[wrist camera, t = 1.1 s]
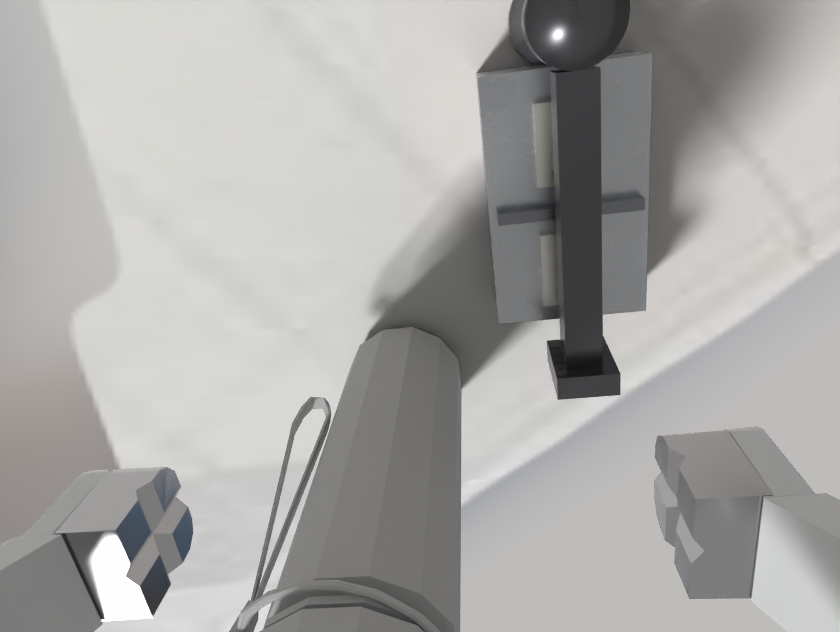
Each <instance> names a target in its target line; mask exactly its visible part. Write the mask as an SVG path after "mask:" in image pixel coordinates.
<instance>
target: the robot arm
mask: <svg viewBox="0 0 840 632" xmlns="http://www.w3.org/2000/svg"><path fill="white" fill-rule="evenodd" d="M655 448H656V449H655V458H656V460H657V463H658V465H659V467H660V469H661V473H660V474H659V475H658V477H657V478H656V479H655V480H654V486H655V487H654V488H655V489H654V497H655V505H656V512H657V517H658V521H659V524H660V528H661V531H662V533H663V536H664V538H665V541H667V542H669V543H670V544H671V545H672V546H674V547H675V562H674V563H675V565H676V568H677V570H678V573H679V575H680V577H681V580H682V582H683V584H684V587H685V589H686V592H687V594H688V596H689V599H711V598H712V599H715V598H716V599H717V598H752V599H751V601H752V602H753V603H754V604H755V605H757V606H758V607H759V608H760V609H761V610H762V611H764V612H765V613H766V614H767V615H768V616H770V617H771V618H772V619H773V620H774V621H776V622H777V623H778V624H779V625H780V626H782V627H783V628H784V629H785V630H786V631H787V632H840V500H839V499H837V498H835V497H832V496H831V495H828V494H826V493H825V494H815V493H814V492H813V491H812V489H811V488H810V487H809V485H808V484H807V483H806V482H805V480H804V479H803V478H802V477H801V475H800V474H799V473H798V472H797V471H796V469H795V468H794V467H793V466H792V464H791V463H790V462H789V461H788V459H787V458H786V457H785V456H784V454H783V453H782V452H781V451H780V449H779V448H778V447H777V446H776V444H775V443H774V442H773V441H772V439H771V438H770V437H769V436H768V434H767V433H766V432H765V431H764V429H761V428H759V427H747V428H737V429H726V430H723V431H713V432H699V433H685V434H672V435H659V436H657V440H656V446H655ZM180 487H181V485H180V483H179V481H178V478H177V476H176V473H175V471H174V470H172V469H170V468H168V467H159V468H136V469H115V470H98V471H88V472H85V473H82V474H80V475H79V476H78V477H77V478H76V479H75V480H74V481H73V482H72V483H71V484H70V486H69V487H68V488H67V489H66V490H65V491H64V492H63V493H62V494H61V495H60V496H59V497H58V499H57V500H56V501H55V502H54V503H53V504H52V505H51V506H50V507H49V508H48V509H47V510H46V511H45V513H44V514H43V515H42V516H41V517H40V518H39V519H38V520H37V521H36V522H35V523H34V524H33V526H32V527H31V528H30V529H29V530H28V531H27V532H26V533H25V534H24V535H23V536H20V537H13V538H11V539H9V540H7V541H6V542H4V543H2V544H0V632H94V631H95V630H96V629H97V628H99V627H100V626H101V625H102V621H112V620H127V619H142V618H152V617H153V616H154V614H155V612H156V610H157V608H158V607H159V605H160V603H161V601H162V599H163V598H164V596H165V594H166V592H167V590H168V589H169V587H170V585H171V582H170V579H169V575H168V574H169V573H170V572H171V571H173V570H174V569H175V568H177V567H178V566H179V565H181V564H182V563H183V562H184V560H185V558H186V556H187V554H188V552H189V550H190V546H191V541H192V536H193V524H192V517H191V514H190V511H189V508H188V507H187V506H186V505H185V504H184V503H183V502H181V501H180V500H179V499H178V498H177V497H176V496H177V494H178V492H179V490H180Z"/></svg>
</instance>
